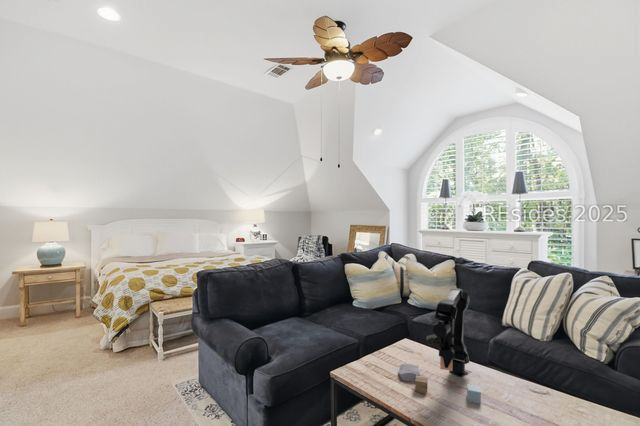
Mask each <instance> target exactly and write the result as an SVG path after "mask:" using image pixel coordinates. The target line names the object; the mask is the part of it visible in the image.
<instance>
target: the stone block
mask: <svg viewBox="0 0 640 426" xmlns="http://www.w3.org/2000/svg"><path fill="white" fill-rule="evenodd" d="M398 374H399V377H400V379H401V380H402V381H406V382H415V380H416V375H417V376H421V373H420V368H419V365H416V364H414V363H404V364H400V365H399V369H398Z"/></svg>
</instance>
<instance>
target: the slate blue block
mask: <svg viewBox="0 0 640 426" xmlns="http://www.w3.org/2000/svg"><path fill="white" fill-rule="evenodd" d="M466 397H467V398H466V399H467V402H470V403H474V404H479V405H480V404H481V403H482V400H481V399H482V391H481V387H480V386H479V385H475V384H474V385H473V384H470V383H469V384H468V383H467V384H466Z"/></svg>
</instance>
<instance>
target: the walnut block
mask: <svg viewBox="0 0 640 426" xmlns="http://www.w3.org/2000/svg"><path fill="white" fill-rule="evenodd" d="M414 383H415V393H416V392H418V393H422V394H428V387H429V386H428V385H429V384H428V377H427V376H424V375H423V376H422V375H420V376H417V375H416V380H415V381H414Z"/></svg>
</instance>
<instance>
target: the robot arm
mask: <svg viewBox="0 0 640 426" xmlns="http://www.w3.org/2000/svg"><path fill="white" fill-rule="evenodd" d="M470 299H471V298H470V295H469V293H467V292H465V291H464V290H463V289H462V288H455V287H453V288H450V292H449V294H448V295H447V297H446V298H445V299H441V300H439V302H438V303H437V304H436V305H437V306H436V310H435V314H434V319H437V322H436V324H435V325H434V326H433V328H432V331H433V334H429V335H426V341H427V342H426V344H428V346H429V347H432V346H434V345H438V346H439V348H438V356H439V358H440V357H443V360H444V365H445V368H448V366H449V364H450V362H451V360H452V359H453V366H452V371H450V370H448V371H449V373H452V374H454V375H456V376H458V377H463V376H465V375H467V374H468V371H467V370H466V365H467V364H470V358H469V357H470V356H469V354H468V351H467V346H466V344H465V342H464V331H465V330H464V328H465V312H466V310H467V309H468V307H469V305H470V303H471V302H470V301H471V300H470Z"/></svg>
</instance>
